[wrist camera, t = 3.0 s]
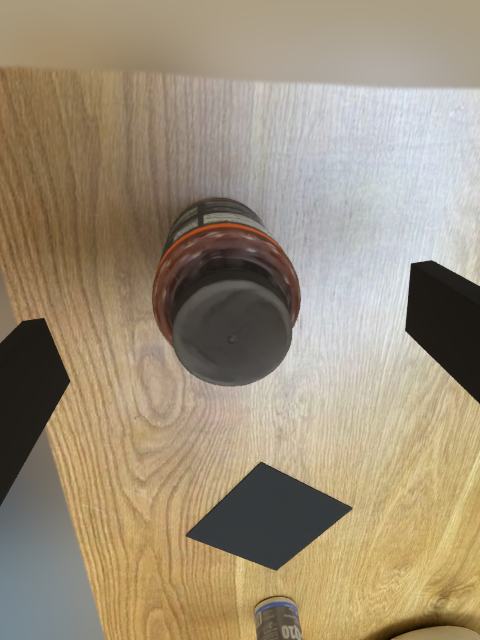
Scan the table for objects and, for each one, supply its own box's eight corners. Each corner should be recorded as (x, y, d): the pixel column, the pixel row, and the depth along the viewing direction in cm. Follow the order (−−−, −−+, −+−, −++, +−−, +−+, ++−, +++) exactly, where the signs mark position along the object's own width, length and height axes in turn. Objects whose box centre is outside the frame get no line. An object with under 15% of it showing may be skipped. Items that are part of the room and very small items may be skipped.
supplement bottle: (240, 307, 24) (266, 433, 14) (152, 269, 22) (110, 380, 12) (286, 224, 22) (357, 301, 12) (193, 175, 20) (183, 215, 10)
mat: (185, 535, 34) (185, 536, 34) (261, 462, 30) (261, 462, 30) (276, 569, 38) (276, 570, 37) (352, 507, 34) (352, 508, 34)
